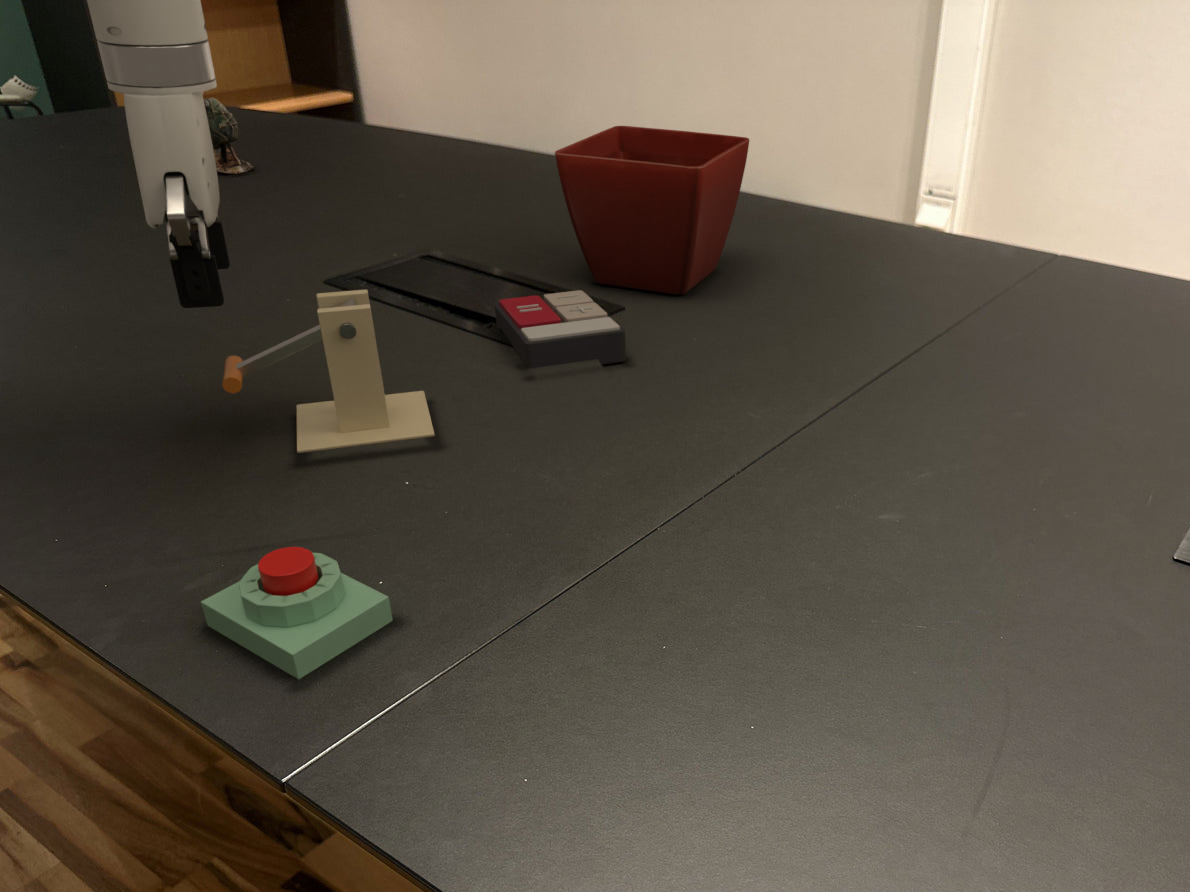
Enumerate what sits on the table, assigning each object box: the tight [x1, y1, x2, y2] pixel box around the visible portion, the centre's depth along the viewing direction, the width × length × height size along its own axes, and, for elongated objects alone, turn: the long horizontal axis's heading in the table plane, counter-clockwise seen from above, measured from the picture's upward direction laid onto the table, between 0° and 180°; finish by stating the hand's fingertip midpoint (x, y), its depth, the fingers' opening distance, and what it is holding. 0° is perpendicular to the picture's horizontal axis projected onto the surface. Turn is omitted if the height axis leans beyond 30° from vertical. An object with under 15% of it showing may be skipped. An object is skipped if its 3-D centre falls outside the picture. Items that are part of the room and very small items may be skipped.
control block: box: [200, 552, 394, 680], centre depth 73 cm, size 10×8×4 cm
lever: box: [221, 298, 357, 394], centre depth 94 cm, size 13×5×2 cm, turn 109°
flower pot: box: [554, 125, 750, 295], centre depth 135 cm, size 19×19×17 cm
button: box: [257, 546, 318, 596], centre depth 72 cm, size 4×4×2 cm
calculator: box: [494, 289, 627, 369], centre depth 118 cm, size 11×4×15 cm
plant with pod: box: [203, 97, 254, 175], centre depth 175 cm, size 8×11×20 cm
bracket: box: [296, 289, 436, 454], centre depth 96 cm, size 12×10×13 cm
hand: (207, 286), depth 89 cm, fingers open, 9 cm apart
